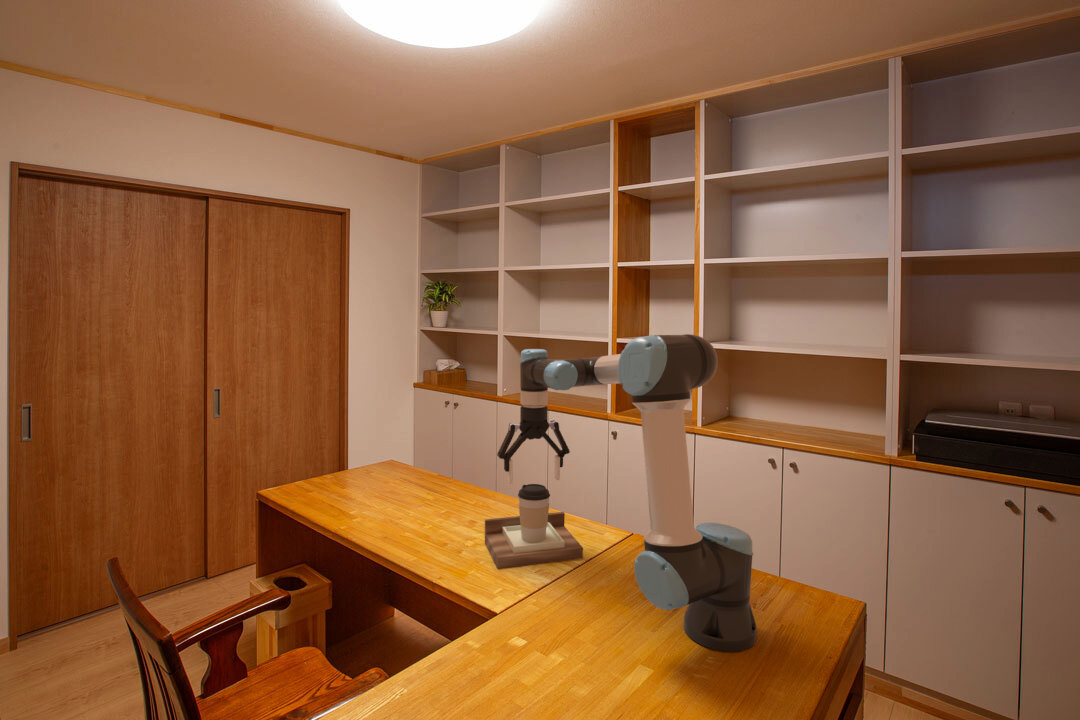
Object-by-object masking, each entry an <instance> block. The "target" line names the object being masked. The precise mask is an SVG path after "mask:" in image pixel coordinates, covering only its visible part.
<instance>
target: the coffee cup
mask: <svg viewBox="0 0 1080 720" xmlns="http://www.w3.org/2000/svg"><path fill="white" fill-rule="evenodd" d="M521 486H522V487H521V489H519V491H518V494H517V497H518V514H519V516H520V525H521V536H522V540H523V541H525V542H529V543H538V542H542V541H544V540H545V537H546V526H547V521H548V513H549V509H550V496H551V494H550V490H549V489H547V487H546V486H545V485H543V484H540V483H528V484H523V485H521Z"/></svg>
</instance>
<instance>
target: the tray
mask: <svg viewBox="0 0 1080 720" xmlns="http://www.w3.org/2000/svg"><path fill="white" fill-rule="evenodd" d="M502 533H503V535H504V537H505V538H506V540H507V542H508V544H509V545H510V547H511V549H512V551H513V552H514V553H521V552H530V551H539V550H548V549H556V548H564V540H563V539H562V538H561V536H560V535H559V534H558V533H557V531H556V530H555V529H554V528H553V526H552V525H551V524H550V523H549V522H547V526H546V537H545V540H544V541H542V542H538V543H529V542H525V541H523V540H522V536H521V525H516V526H506V527H502Z"/></svg>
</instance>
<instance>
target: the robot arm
mask: <svg viewBox="0 0 1080 720" xmlns="http://www.w3.org/2000/svg"><path fill="white" fill-rule="evenodd" d="M548 353H549V352H548V350H546V349H542V348H541V349H540V348H526V349H523V350H522V351H521V352H520V362H519V370H520V371H519V373H520V375H519V376H520V378H519V379H520V386H519V387H520V402H519V403H520V404H521V406H520V412H519V413H520V421H519V423H517V424H515V423H513V422H509V423H508V431H507V432H506V435H505V437H504V439H503V441H502V443H501V445H500V447H499V450H498V452H497V457H498V458H499V459H502V460H503V469H504V471H505V472H506V473H507V482H508V484H509V485H513V481H514V480H513V460H512V459H511V458H513V456H514V454H515V453H517V451H518V450H519V448H520V447H521V446H522V445H523V443H524V442H525V441H526V440H534V439H535V440H541V438H543V439H544V440H545V442H547V444H548V445H549V446H550V447H551V448H552V449H553V451H554V452H555V453H556V454H554V457H553V458H554V461H553V463H554V465H553V466H554V469H553V471H554V474H553V478H554V479H555V480H556V481H560V479H561V473H560V472H561V468H563V467H564V457H565V455H569V454H570V453H571V451H570V449H569V447H568V445H567V443H566V441H565V439H564V436H563V435H562V433H561V430H560V423H559V422H558V421H556V420H552V421H550V422H548V420H549V419H548V417H549V416H548V414H549V413H548V411H549V410H548V409H549V407H548V406H547V405H548V402H549V401H548V400H549V399H548V398H549V397H548V396H549V395H548V394H549V391H548V390H549V389H552V390H554V391H568V390H571V389H572V388H578V387H588V386H589V387H590V386H603V385H604V386H606V385H614V384H616V385H617V384H620V386H622V390H623V391H624V392H626V393H627V394H629V395H631V400H632V401H631V402H632V405H633V406H634V407H636V408H637V409H638V410H639V411H640V418H641V419H640V420H641V429H642V443H643V453H644V455H643V457H644V463H645V467H644V468H645V476H646V477H645V478H646V488H647V489H646V492H647V502H648V511H649V512H648V513H649V524H650V525H649V526H650V528H649V530H648V531H647V532H646V533H645V535H644V536H643V543H644V544H643V545H644V550H643V551H642V552H640V553H639V554H638V555H637V557H636V559H635V560H634V563H633V564H634V566H633V571H634V576H635V577H634V578H635V580H636V582H637V586H638V587H639V590H640V591H641V593H642V594H643V595H644V596H645V598H646V599H647V600H648V602H650V604H652V605H653V606H655V607H656V608H658V609H660V610H664V611H672V610H674V609H681V608H686V610H685V612H684V615H683V630H684V632H685V634H686V635H687V636H688V637H689V638H690V639H691V640H692V641H694V642H696V644H699V645H701V646H703V647H706V648H708V649H711V650H714V651H721V652H732V653H733V652H742V651H745V650H748V649H750V648H752V647H753V646H754V645H755V644H756V642H757V638H758V637H757V636H758V635H757V633H758V631H757V630H758V628H757V624H756V619H755V616H754V612H753V610H752V605H751V602H750V601H751V599H750V598H751V585H752V569H753V568H752V567H753V556H754V552H753V539H752V538H751V536H750V534H748V533H747V532H745V531H744V530H742V529H740V528H737V527H735V526H732V525H728V524H723V523H719V522H702V523H698V524H697V526H696V527H695V526H694V525H695V523H694V514H693V501H692V500H693V499H692V492H691V491H692V489H691V481H690V480H691V479H690V468H689V455H688V445H687V434H686V422H685V421H686V420H685V412H684V409H685V407H686V406H687V405H688V403H689V402H690V401H691V391H690V390H695V389H698V388H700V387H703V386H705V385H706V384H708V383H709V382H710V381H711V380H712V379H713V377H714V376H715V374H716V372H717V369H718V365H719V362H718V361H719V360H718V359H719V357H718V355H717V352H716V349H715V347H714V346H713V345H712V344H711V342H710V341H708V340H707V339H705V338H704V337H703V336H699V335H695V334H690V333H689V334H687V333H686V334H651V335H646V336H639V337H635V338H633V339H632V340H630V341H629V342H628V343H627V344H626V345H624V349H623V350H622V351H621V353H619V354H618V353H616V354H611V355H610V354H609V355H602V356H596V357H595V356H593V357H584V358H583V357H582V358H580V357H579V358H561V359H553V358H549V354H548ZM549 428H550V429H551V430H552V431H553V433H554V435H555V437H556V439H557V441H558V443H559V445H560V447H561V449H560V448H559V446H558V445H557V444H556V443H555V442H554V440H553V439H551V436H550V435H549V434H548V433H547V431H548V429H549ZM518 429H519V431H520V433H519V435H518V437H517V438H516V439H515V440H514V442H513V443H512V444H511V441H512V440H513V439H514V436H515V433H516V432H518ZM509 446H510V447H509ZM686 606H687V607H686Z"/></svg>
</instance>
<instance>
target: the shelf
mask: <svg viewBox="0 0 1080 720" xmlns="http://www.w3.org/2000/svg"><path fill="white" fill-rule="evenodd" d="M565 519H566V518H565V512H564V511H560V512H559V511H557V512H548V521H547V522H549V523H550V524H551V525H552V526H553V528H554V529H555V530H556V531H557V533H558V534H559V535H560V536H561V538H562V539H563V540H564V548H556V549H548V550H539V551H530V552H521V553H514V552H513V551H512V549H511V547H510V545H509V544H508V542H507V540H506V538H505V537H504V535H503V533H502V527H506V526H516V525H520V515H517V516H506V517H497V518H496V517H495V518H487V519H484V544H485V546H486V548H487V550H488V552H489V555H490V556H491V558H492V560H493V562H494V564H495V567H496V568H497V569H504V568H505V569H506V568H512V567H520V566H529V565H530V566H531V565H537V564H545V563H554V562H560V561H561V562H562V561H564V562H565V561H568V560H569V561H571V560H578V559H579V560H580V559H583V557H584V548H583V546H582V544H581V543H580V542H579V541H578V540H577V539H576V538H575V537H574V536H573V534H572V533H571V531H569V530H568V529H567V527H566V525H565V522H566V521H565Z"/></svg>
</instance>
